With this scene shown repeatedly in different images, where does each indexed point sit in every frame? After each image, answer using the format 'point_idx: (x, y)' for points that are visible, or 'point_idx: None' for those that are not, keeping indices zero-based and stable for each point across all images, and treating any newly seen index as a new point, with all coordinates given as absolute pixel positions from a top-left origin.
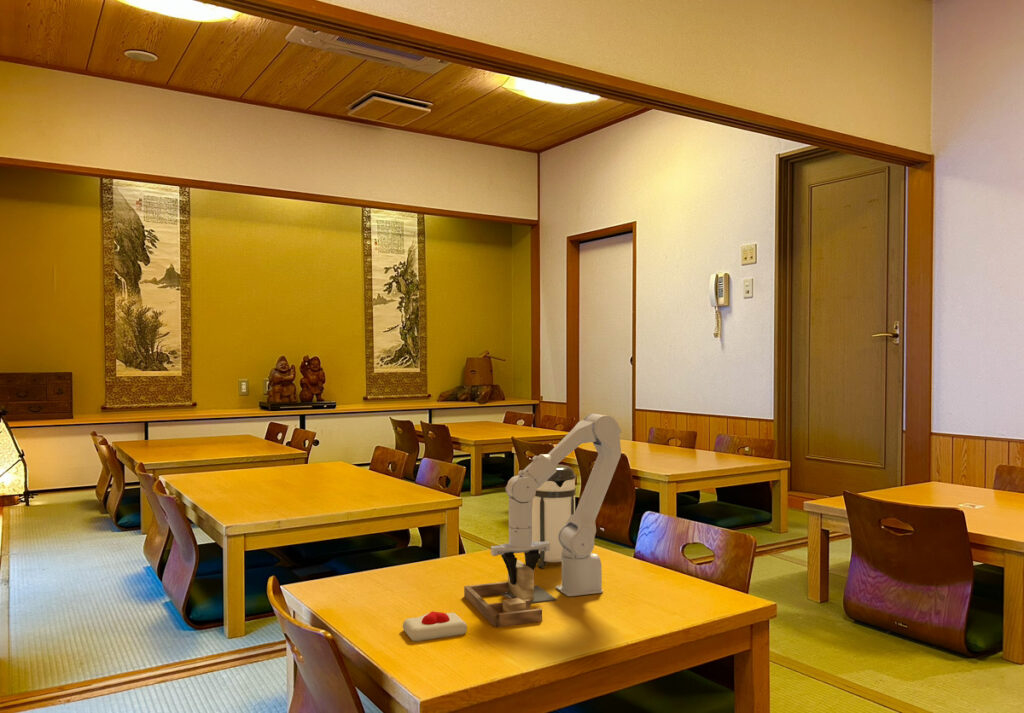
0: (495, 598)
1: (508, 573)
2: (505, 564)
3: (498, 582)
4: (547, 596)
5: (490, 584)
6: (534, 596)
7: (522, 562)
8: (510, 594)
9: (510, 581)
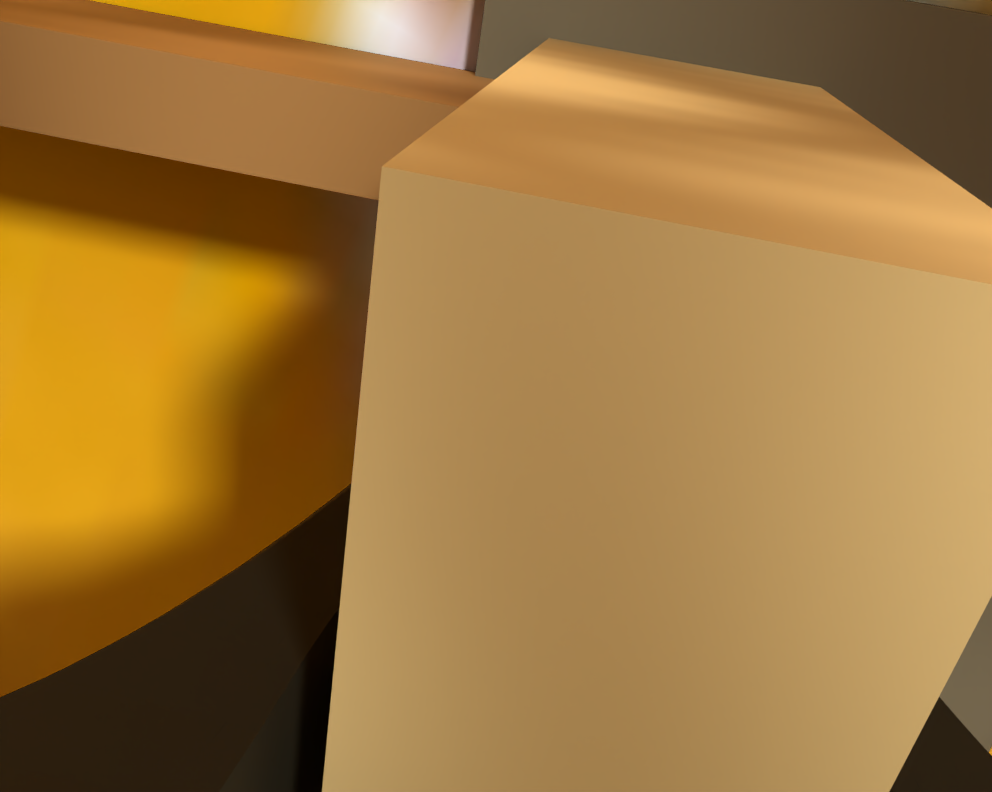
0: (161, 315)
1: (260, 553)
2: (7, 707)
3: (238, 61)
4: None
5: (8, 119)
6: None
7: (912, 742)
8: None
9: None
